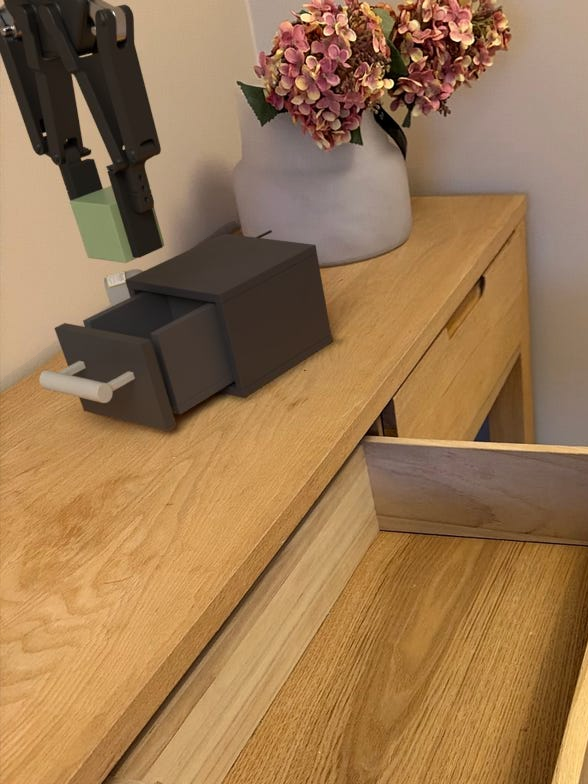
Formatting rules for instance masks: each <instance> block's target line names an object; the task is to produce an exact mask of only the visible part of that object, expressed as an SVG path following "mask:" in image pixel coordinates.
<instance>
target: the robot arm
mask: <svg viewBox="0 0 588 784" xmlns="http://www.w3.org/2000/svg"><path fill="white" fill-rule="evenodd" d="M2 1H3V3H2V5H1V6H0V57H1V59H2V62H3V66H4V68H5V71H6V75H7V77H8V80H9V83H10V86H11V88H12V91H13V94H14V97H15V98H14V99H15V101H16V103H17V106H18V110H19V111H20V115H21V118H22V120H23V121H22V122H23V125H24V126H25V129H26V132H27V135H28V138H29V141H30V144H31V147H32V150H33V151H34V153H35V154H36V155H37V156H40V157H41V156H43V155H45V156H47V157H48V158H50V159H51V161H52V162H53V164H54V165H55V166H57V167H58V168H59V171H60V175H61V178H62V180H63V183H64V186H65V189H66V191H67V196H68V199H69V202H70V201H72V200H74V199H77V198H80V197H82V196H85V195H88V194H90V193H93V192H96V191H98V190H101V189H104V187H103V184H102V181H101V178H100V177H101V176H100V174H99V171H98V167H97V164H96V161H95V159H94V158H85V157H89V156H91V154H92V149H91V148H88V147H86V146H84V142H83V135H82V129H81V123H80V118H79V112H78V106H77V100H76V93H75V86H74V82H73V77H74V78H75V81H76V83H77V84H78V87H79V90H80V92H81V94H82V96H83V98H84V101H85V102H86V106H87V107H88V110H89V112H90V114H91V117H92V119H93V121H94V123H95V127H96V128H97V130H98V133H99V135H100V137H101V139H102V142H103V144H104V147H105V149H106V151H107V153H108V156H109V158H110V161H111V162H112V164H108V165H106V166H105V168H106V170H107V171H106V172H107V175H108V179H109V182H110V186H112V189H113V192H114V196H115V199H116V202H117V205H118V208H119V212H120V215H121V219H122V222H123V225H124V229H125V232H126V235H127V239H128V242H129V245H130V249H131V252H132V256H133V257H136V259H140V258H143V257H144V256H147V255H150V254H151V253H154V252H156V251H158V250H160V249H163V248H164V246H162V242H161V239H160V235H159V232H158V228H157V224H156V221H155V217H154V213H153V210H152V208H154V209H155V200H154V197H153V194H152V189H151V186H150V185H151V184H150V182H149V178H148V174H147V171H146V162H147V161H148V160H150V159H152V158H154V157H156V156H158V155H160V154H161V151H162V147H161V142H160V139H159V135H158V130H157V127H156V124H155V120H154V116H153V111H152V109H151V108H152V107H151V103H150V99H149V96H148V91H147V88H146V84H145V79H144V76H143V73H142V68H141V64H140V59H139V56H138V52H137V47H136V44H135V21H134V20H135V18H134V17H135V16H134V12H133V10H132V9H131V7H130V6H129V5H127V4H121V5H116V6H114V5H112V4H110V3H108V2H107V1H105V0H2ZM44 134H45V135H44ZM82 158H85V159H82Z"/></svg>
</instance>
